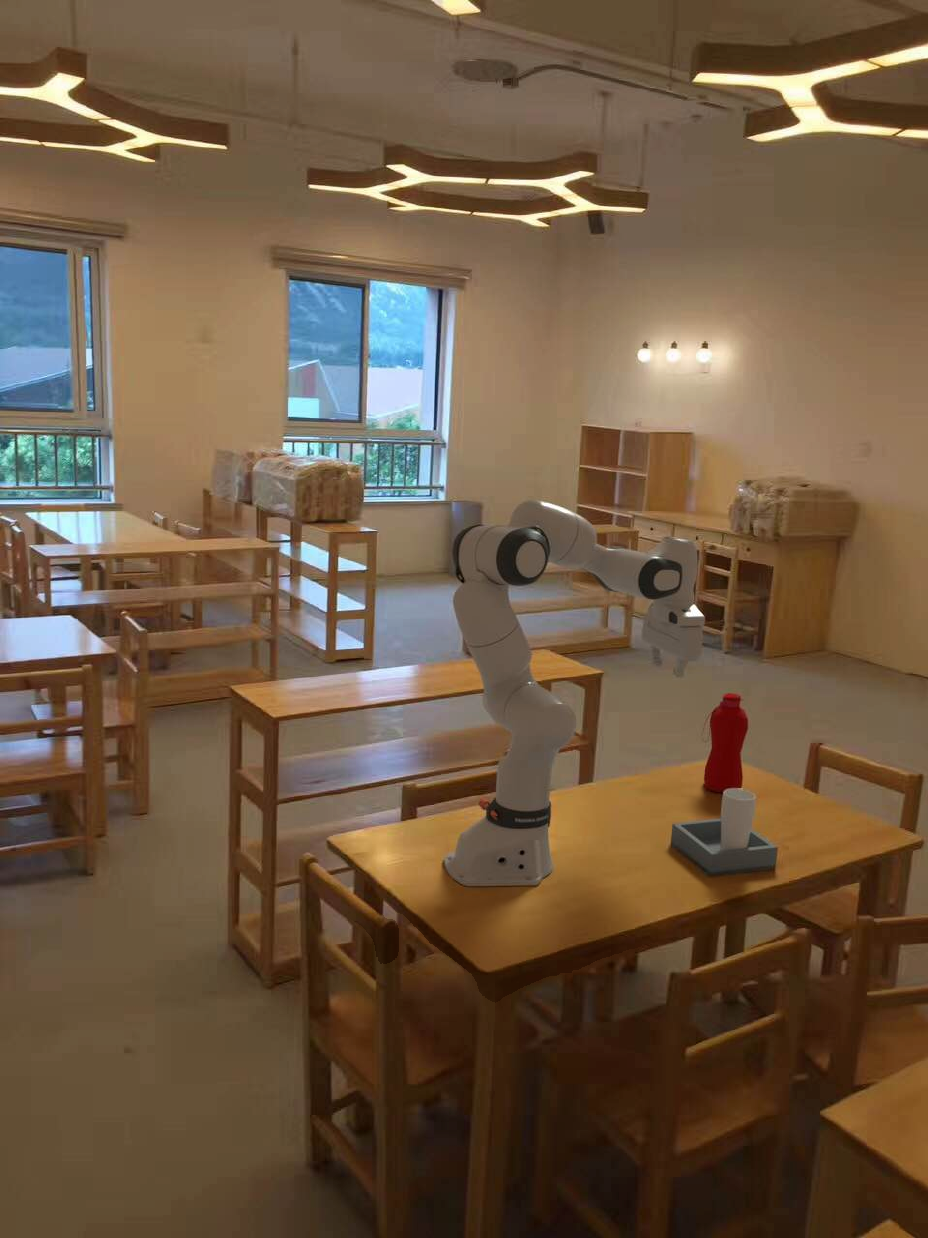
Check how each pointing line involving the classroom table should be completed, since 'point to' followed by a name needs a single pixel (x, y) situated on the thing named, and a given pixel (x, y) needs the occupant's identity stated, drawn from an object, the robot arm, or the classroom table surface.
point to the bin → (704, 851)
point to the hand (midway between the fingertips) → (667, 671)
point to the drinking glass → (736, 818)
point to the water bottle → (726, 745)
